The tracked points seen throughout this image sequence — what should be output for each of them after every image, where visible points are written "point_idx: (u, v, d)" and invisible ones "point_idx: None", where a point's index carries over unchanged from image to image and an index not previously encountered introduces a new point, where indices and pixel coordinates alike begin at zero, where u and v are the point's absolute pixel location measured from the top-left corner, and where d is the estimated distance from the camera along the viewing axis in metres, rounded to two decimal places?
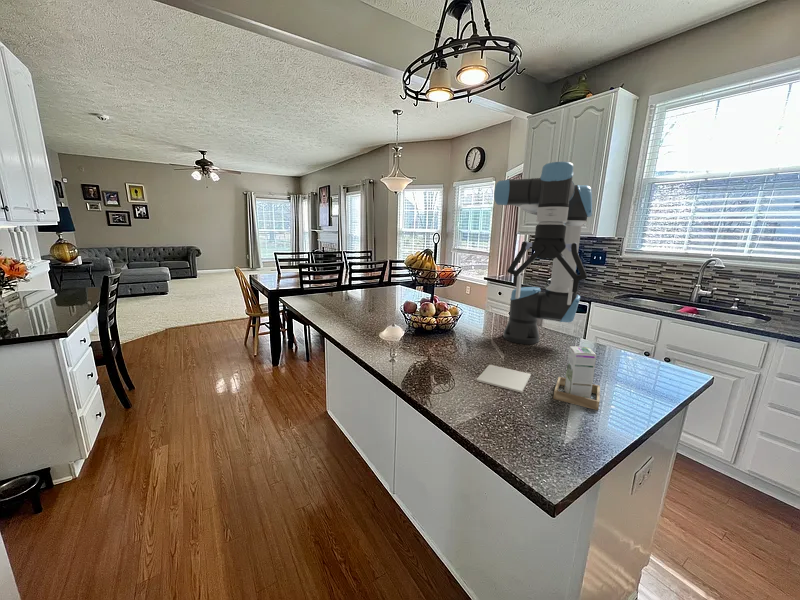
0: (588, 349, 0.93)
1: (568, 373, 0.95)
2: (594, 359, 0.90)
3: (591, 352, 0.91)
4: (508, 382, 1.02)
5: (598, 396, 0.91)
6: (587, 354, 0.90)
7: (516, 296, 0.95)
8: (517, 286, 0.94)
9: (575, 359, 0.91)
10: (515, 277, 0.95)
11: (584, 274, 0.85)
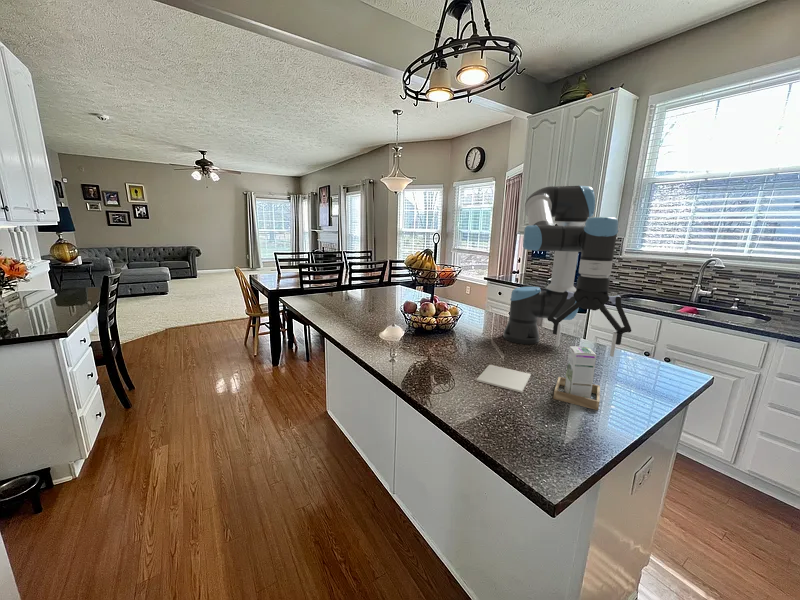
0: (588, 349, 0.93)
1: (568, 373, 0.95)
2: (594, 359, 0.90)
3: (591, 352, 0.91)
4: (508, 382, 1.02)
5: (598, 396, 0.91)
6: (587, 354, 0.90)
7: (556, 344, 0.95)
8: (557, 334, 0.94)
9: (575, 359, 0.91)
10: (555, 325, 0.95)
11: (629, 327, 0.85)
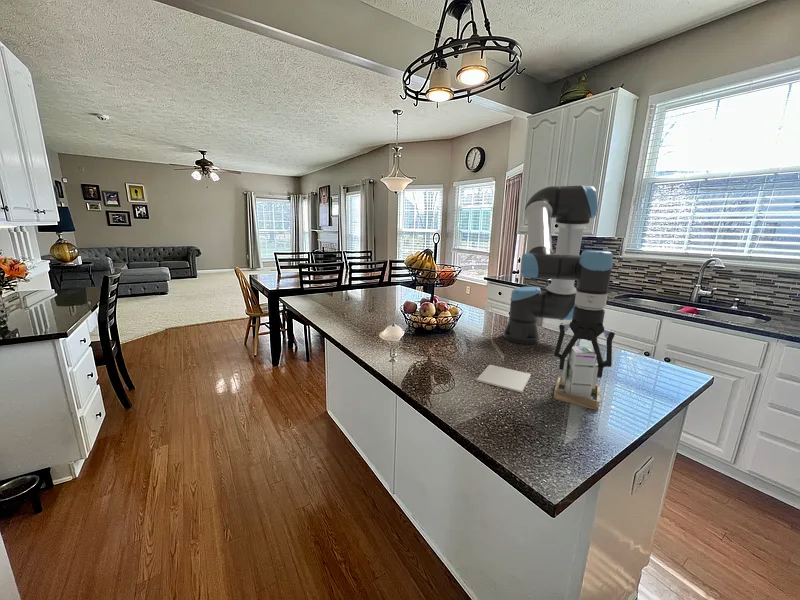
0: (588, 349, 0.93)
1: (568, 373, 0.95)
2: (594, 359, 0.90)
3: (591, 352, 0.91)
4: (508, 382, 1.02)
5: (598, 396, 0.91)
6: (587, 354, 0.90)
7: (563, 379, 0.96)
8: (564, 370, 0.95)
9: (575, 359, 0.91)
10: (562, 361, 0.96)
11: (610, 362, 0.89)
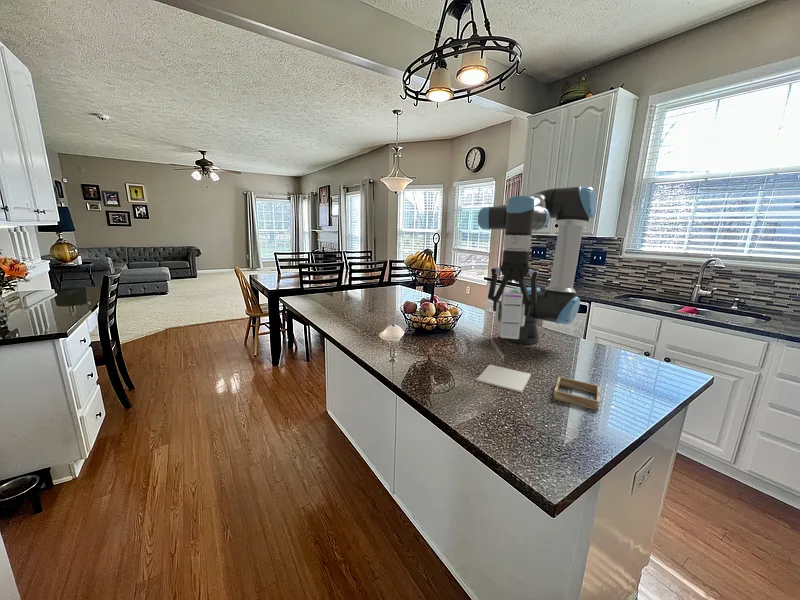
0: (518, 291, 1.01)
1: (500, 314, 1.03)
2: (521, 298, 0.98)
3: (519, 292, 0.98)
4: (508, 382, 1.02)
5: (598, 396, 0.91)
6: (514, 293, 0.98)
7: (496, 320, 1.03)
8: (496, 311, 1.03)
9: (504, 298, 0.99)
10: (495, 303, 1.03)
11: (534, 300, 0.96)
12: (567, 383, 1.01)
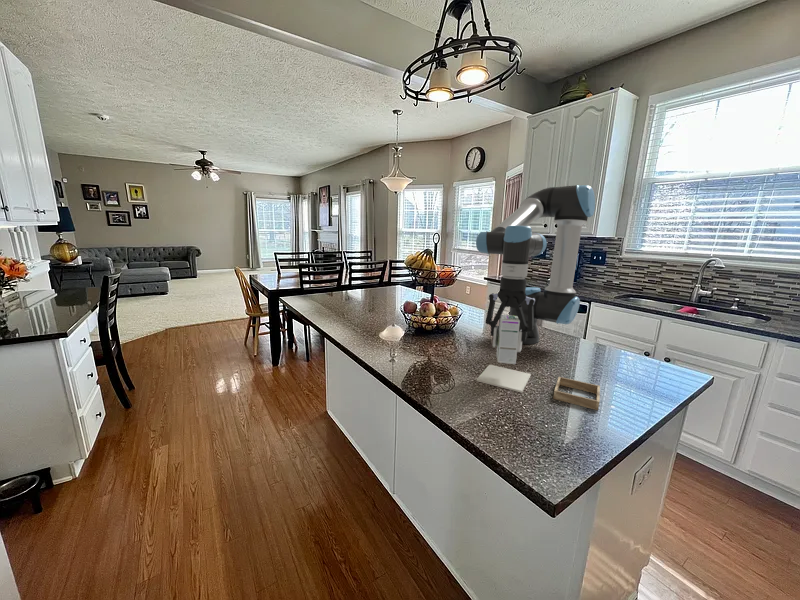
0: (515, 317, 1.03)
1: (498, 339, 1.05)
2: (518, 325, 0.99)
3: (516, 318, 1.00)
4: (508, 382, 1.02)
5: (598, 396, 0.91)
6: (512, 320, 0.99)
7: (493, 345, 1.05)
8: (494, 336, 1.05)
9: (501, 325, 1.00)
10: (492, 328, 1.05)
11: (531, 327, 0.98)
12: (567, 383, 1.01)
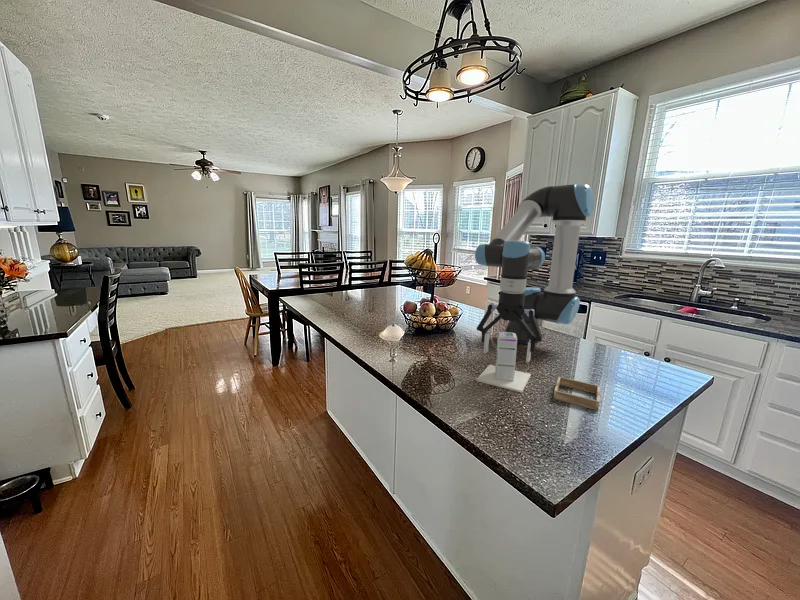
0: (513, 334, 1.04)
1: (496, 355, 1.06)
2: (515, 342, 1.01)
3: (513, 336, 1.02)
4: (508, 382, 1.02)
5: (598, 396, 0.91)
6: (509, 338, 1.01)
7: (484, 351, 1.07)
8: (485, 342, 1.07)
9: (499, 342, 1.02)
10: (483, 334, 1.07)
11: (539, 337, 0.97)
12: (567, 383, 1.01)
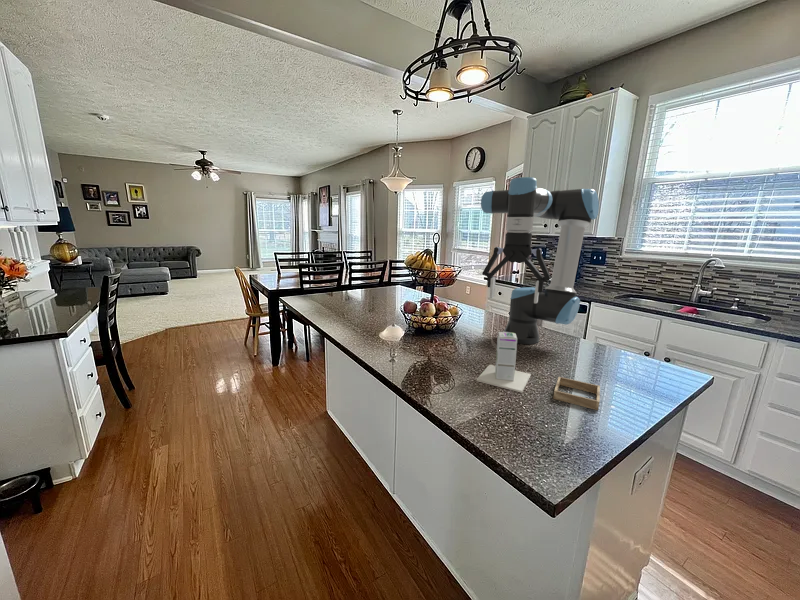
0: (513, 334, 1.04)
1: (496, 355, 1.06)
2: (515, 342, 1.01)
3: (513, 336, 1.02)
4: (508, 382, 1.02)
5: (598, 396, 0.91)
6: (509, 338, 1.01)
7: (490, 296, 1.06)
8: (491, 287, 1.05)
9: (499, 342, 1.02)
10: (489, 279, 1.06)
11: (547, 276, 0.96)
12: (567, 383, 1.01)
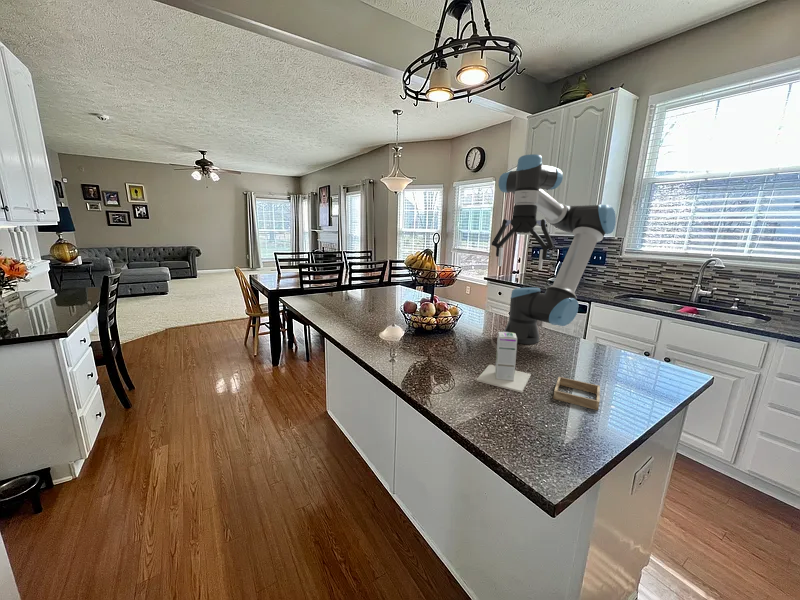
0: (513, 334, 1.04)
1: (496, 356, 1.06)
2: (515, 342, 1.01)
3: (513, 336, 1.02)
4: (508, 382, 1.02)
5: (598, 396, 0.91)
6: (509, 338, 1.01)
7: (498, 264, 1.17)
8: (499, 256, 1.16)
9: (499, 342, 1.02)
10: (497, 249, 1.17)
11: (551, 244, 1.07)
12: (567, 383, 1.01)
